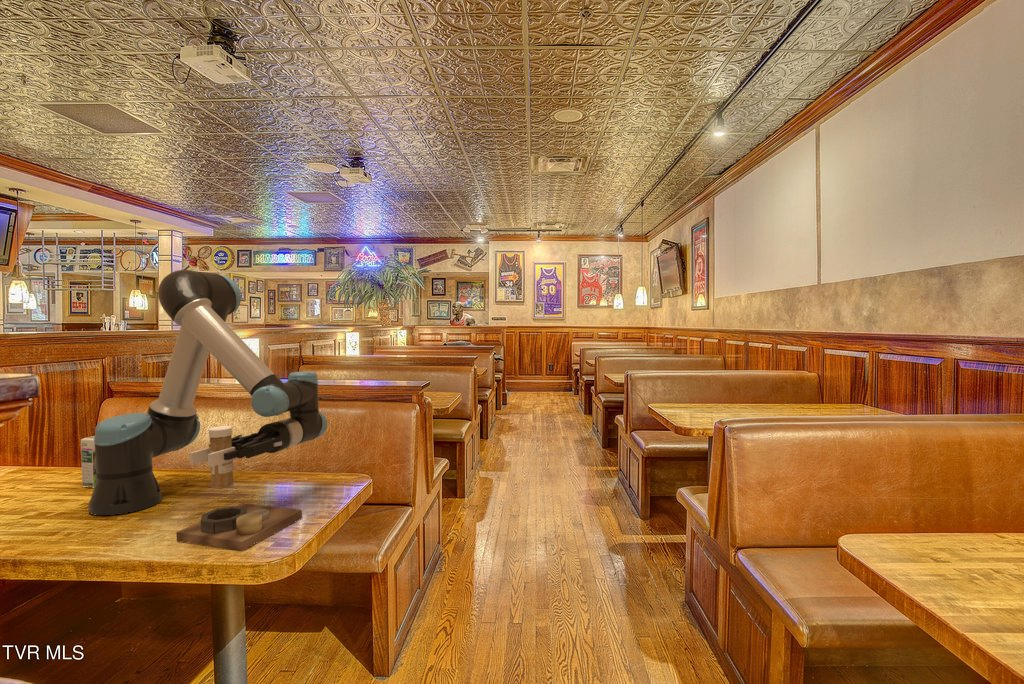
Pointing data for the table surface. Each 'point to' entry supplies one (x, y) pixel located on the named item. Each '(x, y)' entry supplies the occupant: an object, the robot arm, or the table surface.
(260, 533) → the carrier board
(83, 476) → the syrup box
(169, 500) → the table surface
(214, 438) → the sprinkles bottle
